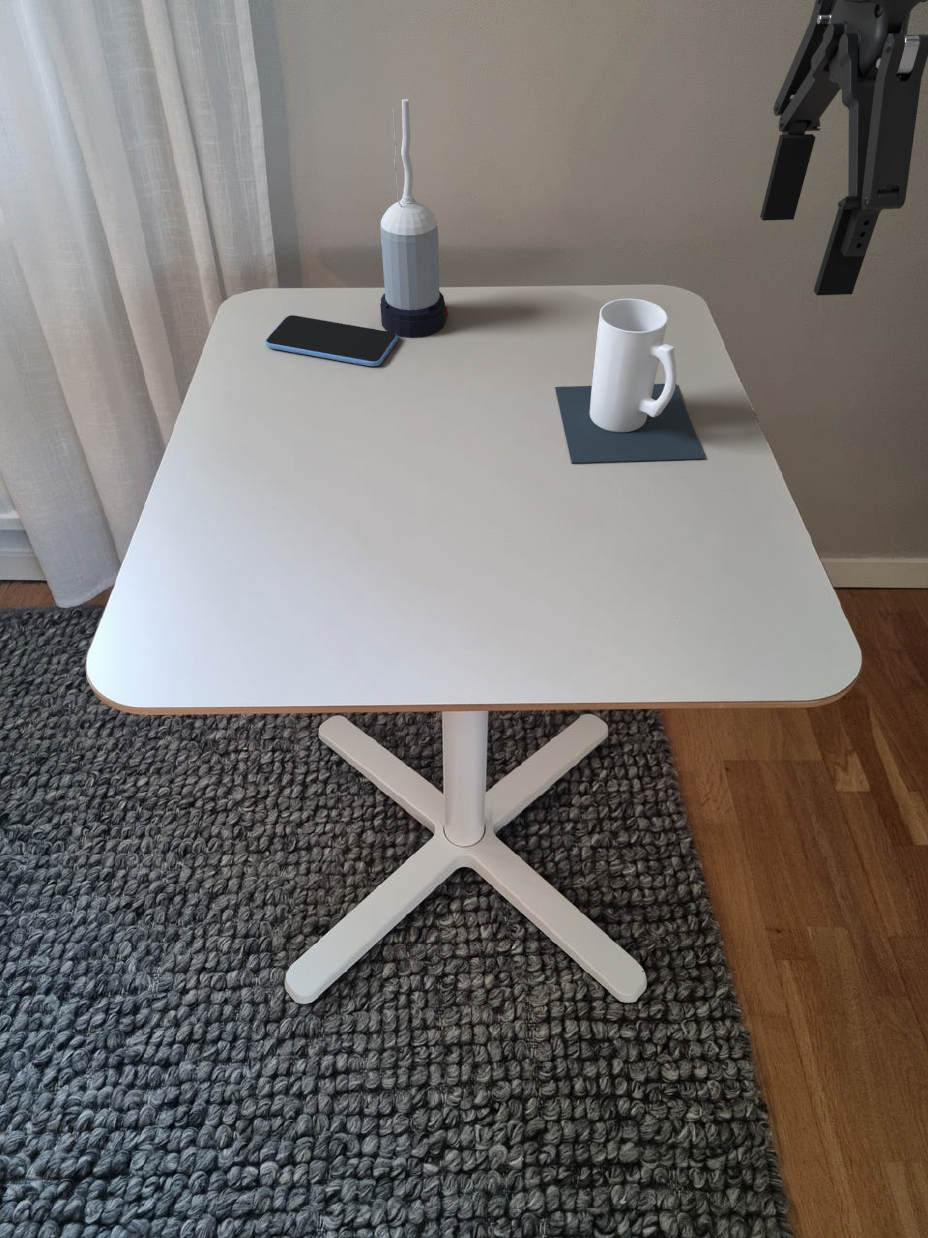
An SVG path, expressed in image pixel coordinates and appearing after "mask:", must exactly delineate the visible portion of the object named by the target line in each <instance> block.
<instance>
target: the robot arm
mask: <svg viewBox="0 0 928 1238" xmlns="http://www.w3.org/2000/svg"><path fill="white" fill-rule="evenodd" d="M926 2H928V0H815V1H814V6H813V9H812V13H811V16H810V19H809V22H808V25H807V27H806V30H805V32H804V35H803V36H802V39H801V42H800V43H799V46H798V48H797V51H796V52H795V55H794V58H793V60H792V62H791V64H790V67H789V68H788V72H787V74H786V76H785V79H784V81H783V83H782V85H781V88H780V90H779V91H778V92H779V93H778V94H777V97H776V99H775V101H774V104H773V110H772V111H773V115H774V116H775V117H777V116H779V121H778V131H779V133H781V134H779V138H778V141H777V145H776V149H775V154H774V156H773V157H774V158H773V161H772V166H771V170H770V174H769V178H768V183H767V187H766V191H765V195H764V199H763V202H762V203H763V204H762V208H761V210H760V211H761V212H760V216H759V218H760V219H761V221H765V222H766V221H795V216H796V212H797V208H798V206H799V205H798V204H799V202H800V197H801V193H802V190H803V188H804V187H803V186H804V183H805V178H806V175H807V172H808V169H809V164H810V161H811V157H812V153H813V150H814V145H815V142H816V138H817V137H816V136H815V135H814V134H813V133H806V132H820V131H821V128H820V127H821V119H820V118H821V117H822V116H823V114H824V113H825V111H826V110H827V109H828V107H829V106H830V105H831V103H832V102H833V100H834V99H835V97H836V96H837V95H838V93H839V92H840V90H841V103H842V105H843V106H844V107H846V108H847V110H848V172H847V173H848V175H847V177H848V179H847V181H848V182H847V183H848V184H847V185H848V186H847V187H848V188H847V189H848V190H847V195H845V197H843V198H842V199H840V200H839V201H838V202H837V207H838V208H837V211H836V214H835V218H834V222H833V225H832V228H831V231H830V235H829V238H828V241H827V245H826V248H825V251H824V255H823V258H822V261H821V264H820V268H819V270H818V275H817V276H816V277H817V278H816V281H815V284H814V287H813V292H814V294H815V295H816V296H836V295H837V296H842V295H843V296H845V295H853V292H854V291H855V290H854V289H855V286H856V284H857V281H858V278H859V275H860V272H861V269H862V266H863V263H864V261H865V257H866V254H867V252H868V248H869V245H870V242H871V239H872V236H873V233H874V230H875V228H876V225H877V222H878V219H879V216H880V214H881V212H882V211H883V210H900V209H902V208H903V207H904V205H905V202H906V198H907V192H908V191H907V190H908V183H909V175H910V169H911V160H912V152H913V146H914V137H915V129H916V124H917V116H918V106H919V100H920V94H921V93H920V91H921V85H922V78H923V74H924V72H925V71H924V70H925V68H926V64H927V60H928V34H927V33H926V34H908V30H909V24H910V23H909V22H910V18H911V13H912V11H913V9H914V8H915V7H916V6H917V5H919V4H920V3H926ZM792 96H793V97H792ZM791 97H792V98H791Z"/></svg>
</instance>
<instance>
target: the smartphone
mask: <svg viewBox="0 0 928 1238" xmlns="http://www.w3.org/2000/svg"><path fill="white" fill-rule="evenodd" d="M397 341H398V336H397V335H396V334H395V333H393V332H388V331H386V330H381V329H378V328H377V329H375V328H370V327H365V326H358V325H353V324H346V323H341V322H335V321H330V320H324V319H317V318H312V317H306V316H300V315H293V314H289V315H287V316H285V317H284V318H283V319H282V320H281V322H280V323H279V324H278V325H277V326H276V327H275V329H273V330H272V332H271V333H270V334H269V335H268V336H267V337H266V338H265V346H266V347H267V348H269V349H273V350H279V351H284V352H289V353H295V354H300V355H306V356H312V357H318V358H323V359H328V360H333V361H334V360H335V361H339V362H345V363H350V364H355V365H361V366H367V367H378V366H379V365H381V364H382V363H383V362H384V360H385V359H386V357H387V356H388V355H389V354H390V352H391V351H392V349H393V348H394V346H395V344H397Z"/></svg>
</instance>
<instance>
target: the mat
mask: <svg viewBox="0 0 928 1238" xmlns="http://www.w3.org/2000/svg"><path fill="white" fill-rule="evenodd" d="M664 386H665V383H654V387H653V392H652V397H651V398H652V399H654V400H657V399H658V398H659V397H660V396H661V394H662V392H663V389H664ZM554 389H555V395H556V398H557V404H558V408H559V412H560V417H561V421H562V426H563V429H564V435H565V436H564V437H565V440H566V445H567V449H568V454H569V459H570V463H571V464H572V465H578V464H579V465H580V464H609V463H640V462H643V463H645V462H669V461H670V462H672V461H673V462H674V461H700V460H701V461H703V460H706V457H705V454H704V451H703V449H702V446H701V444H700V441H699V438H698V436H697V434H696V431H695V429H694V426H693V423H692V421H691V418H690V416H689V413H688V411H687V408H686V405H685V402H684V399H683V397H682V394H681V392H680V389H679V387H678V384H677V383H676V386H675V390H674V393H673V395H672V397H671V399H670V401H669V402H668V404H667V405H666V407H665V408H664V410H663V411H662V413H661V414H660V415H658V416H656V417H651V416H650V415H648V414H647V418H646V421H645V423H644V425H643V426H641V427H640V428H639V429H637V430H634V431H630V432H612V431H608V430H605V429H602V428H600V427H599V426H597V425H596V424H595V423H594V422H593V421H592V420H591V418H590V403H591V390H592V385H573V386H555V387H554Z"/></svg>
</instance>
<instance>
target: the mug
mask: <svg viewBox="0 0 928 1238" xmlns="http://www.w3.org/2000/svg"><path fill="white" fill-rule="evenodd" d="M668 319H669V316H668V313H667V312H666V310H665V309H664V308H663V307H661V306H660V305H658V304H656V303H654V302H651V301H649V300H645V299H641V298H618V299H614V300H611V301H608V302H606V303H605V304H604V305H603V306H602V307H601V308H600V310H599V319H598V324H597V325H598V326H597V332H596V343H595V351H594V352H595V353H594V362H593V372H592V382H591V386H592V390H591V403H590V418H591V420H592V421H593V422H594V423H595V424H596V425H597V426H599V427H600V428H602V429H605V430H608V431H612V432H630V431H634V430H637V429H639V428H640V427H641V426H643V425H644V423H645V421H646V418H647V414H648V415H650V416H651V417H656V416H658V415H660V414H661V413H662V411H663V410H664V408H665V407H666V405H667V404H668V402H669V401H670V399H671V397H672V395H673V393H674V390H675V386H676V384H677V377H678V376H677V375H678V374H677V363H676V357H675V356H676V355H675V350H676V348H675V346H672V345H670V344H668V343H664V339H665V335H666V330H667V324H668V321H669V320H668ZM660 362H661V364H662V365H663V369H664V375H665V383H664V384H665V386H664V389H663V392H662V394H661V396H660V397H659V398H658V399H657V400H654V399H652V398H651V397H652V392H653V387H654V384H655V381H656V378H657V373H658V368H659V363H660Z"/></svg>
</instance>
